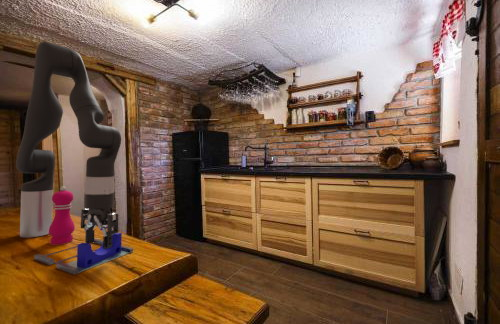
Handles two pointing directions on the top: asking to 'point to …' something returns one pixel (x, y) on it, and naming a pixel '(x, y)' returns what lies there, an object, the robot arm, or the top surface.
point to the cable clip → (97, 252)
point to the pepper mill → (62, 218)
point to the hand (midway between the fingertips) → (98, 245)
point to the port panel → (73, 266)
